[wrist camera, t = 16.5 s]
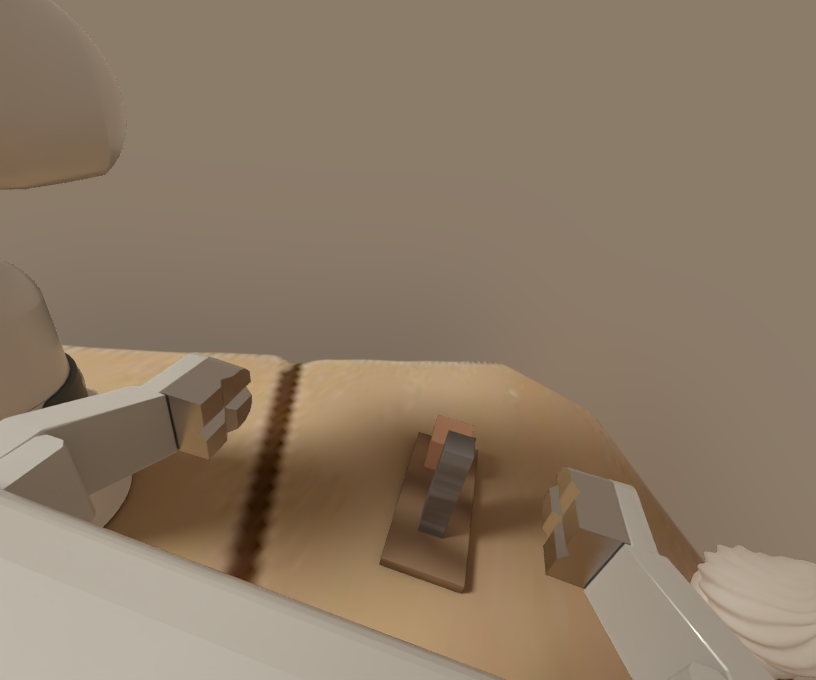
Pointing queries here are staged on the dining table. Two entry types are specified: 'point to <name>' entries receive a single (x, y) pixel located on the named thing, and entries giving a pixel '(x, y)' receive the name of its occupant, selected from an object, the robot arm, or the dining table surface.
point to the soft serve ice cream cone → (764, 605)
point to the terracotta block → (444, 438)
